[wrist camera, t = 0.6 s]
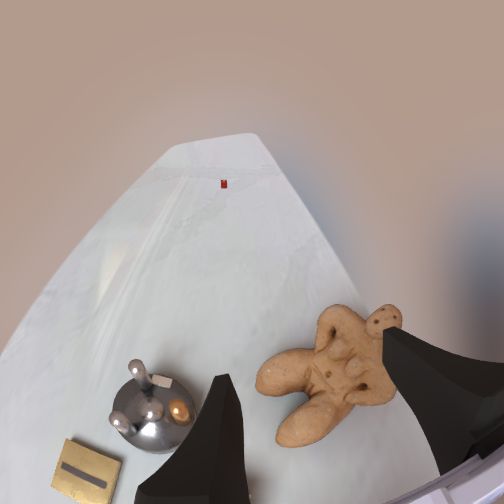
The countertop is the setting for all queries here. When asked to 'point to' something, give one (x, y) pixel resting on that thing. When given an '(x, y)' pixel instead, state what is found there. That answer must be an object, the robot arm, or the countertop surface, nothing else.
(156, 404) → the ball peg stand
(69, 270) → the countertop surface
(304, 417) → the figurine
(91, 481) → the pad
